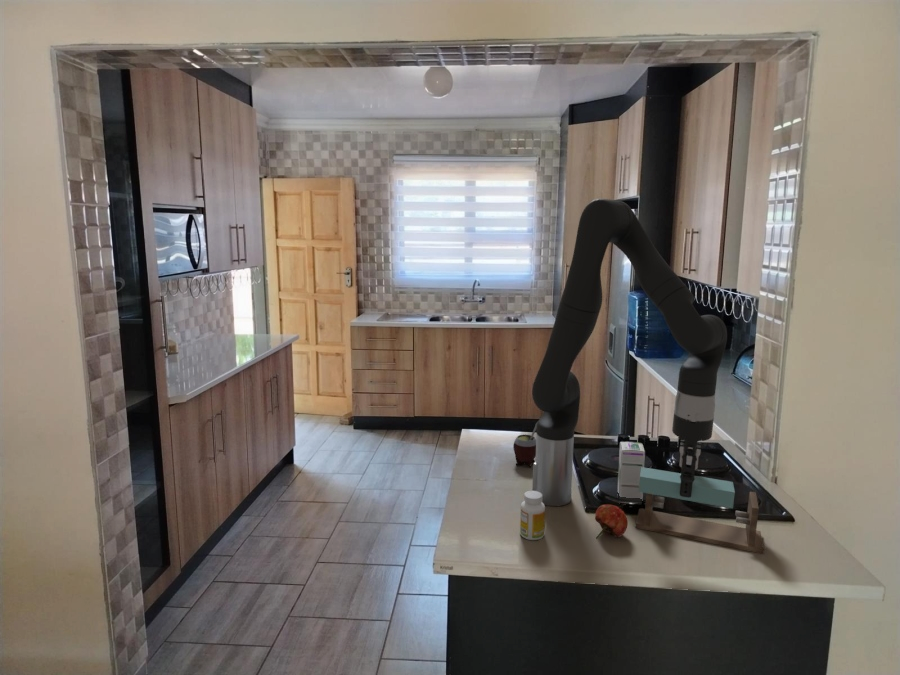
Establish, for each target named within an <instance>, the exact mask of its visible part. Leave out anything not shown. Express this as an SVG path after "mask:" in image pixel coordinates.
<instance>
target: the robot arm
mask: <svg viewBox="0 0 900 675" xmlns="http://www.w3.org/2000/svg"><path fill="white" fill-rule="evenodd" d="M576 232H577V233H576V237H575V244H574V249H573V254H572V259H571V263H570V266H569V270H568V273H567V277H566V281H565V286H564V288H563V292H562V294H561V297H560V300H559V305H558V308H557V311H556V316H555V321H554V324H553V326H552V330H551V333H550V337H549V339H548V340H549V341H548V343H547V347H546V350H545V353H544V356H543V359H542V361H541V363H540V367H539V369H538V371H537V372H536V373H537V374H536V376H535V379H534V381H533V383H532V390H531V394H532V401H533V403H534V404H535V406H536V407H537V408H538V409H539V410H540V411H542V412H543V413H542V415H541V416H540V418H539V419H538V421H537V422H538V423H537V422H536V423H537V428H536V435H535V436H536V437H535V439H536V456H535V462H534V463H532V464H533V465H532V486H531V489H532V490H531V491H538V492H540V493H541V494H542V503H543V504H544V505H546V506H550V507H551V506H552V507H561V506H565V505H567V504H569V503H570V502H571V499H572V484H573V466H574V465H573V463H574V461H573V460H574V441H575V440H574V439H575V438H574V437H575V430H576V427H577V424H578V420H579V411H580V401H581V400H580V399H581V387H580V386H581V385H580V383H579V379H578V377H577V376H576V375H575V374H574V373H573V372H572V371H571V370H572V367H573V365H574V363H575V360H576V358H578V355H579V354H580V352H581V351H582V350H583V348H584V347H585V345H586V344H587V342H588V340H589V339H590V337H591V335H592V334H593V332H594V329H595V328H596V324H597V320H598V318H599V315H600V312H601V308H602V304H603V287H602V286H603V285H602V279H601V276H602V275H601V270H602V265H603V261H604V258H605V256H606V255H605V254H606V252H607V249H608V245H609V244H610V243H612V244H613V245H614V246H615V247H616V248H618V249H619V250H620V251H621V252H622V253H623V254H624V255H625V257H627V259H628V260H629V262H630V263H631V266H632V268H633V270H634V273H635V276H636V277H637V280H638V283H639V285H640V286H641V289H642V290H643V292H644V293H645V295H646V296H647V297H648V298H649V300H650V301H651V302H652V304H653V305H654V306H655V307H656V309H658V311H659V312H660V313H661V314H662V316H663V319H664V321H665V323H666V325H667V327H668V329H669V331H670V333H671V334H672V335H671V336H672V337H673V338H674V340H675V341H676V343H677V344H678V345H679V346H680V347H681V348H682V349H683V350H684V351H686V352H688V356H687V359H686V360H685V361H684V362H683V363H682V364H681V366H680V367H679V373H678V378H677V379H678V383H677V390H676V391H677V392H676V395H675V399H674V407H673V408H674V409H673V418H672V419H673V420H672V428H671V431H672V433H673V435H674V436H676V437H678V438H681V439H680V441H679V442H680V444H679V454H680V455H679V456H680V457H679V464H678V466H679V467H680V468H681V472H680V473H681V475H680V478H681V485H680V496H683V497H688V498H689V497H691V493H692V484H693V482H694V480H695V477H694V476H695V472H696V470H698V468H699V466H698V465H699V457H700V455H701V451H702V448H701V446H702V443H700V442H701V441H702V442H704V441H709V440H710V439H711V438H712V435H713V429H714V420H715V411H716V388H717V380H718V378H717V377H718V371H719V368H720V366H721V363H722V360H723V356H724V353H725V350H726V346H727V341H728V330H727V326H726V324H725V322H724V320H722V318H720V317H719V316H716V315H715V314H704V315H700V313H698V311H697V310H696V307H695V306H694V305H693V304H694V301H695V298H694V294H693V293H692V291H691V290H690V289H689V287H688V286H687V285H686V284H685V283H684V281H682V280H681V278H680V277H679V276H678V274H677V273H676V272H675V271H674V270H673V269H672V267H671V266H670V265H669V264H668V263H667V262H666V260H665V259H664V258H663V257H662V255H661V254H660V252H659V251H658V250H657V248H656V247H655V245H654V244H653V242H652V240H651V239H650V237H649V236H648V235H647V232H646V231H645V229H644V227H643V226H642V224H641V222H640V221H639V219H638V217H637V216H636V214H635V212H634V211H633V209H632V208H631V206H630V205H628V204H627V203H626V202H625V201H621V200H619V199H610V198H609V199H608V198H595V199H593V200H591V201H590V202H588V204H586V206H585V207H584V209H583V211H582V212H581V215H580V218H579V221H578V226H577V231H576Z"/></svg>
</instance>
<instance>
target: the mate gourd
mask: <svg viewBox="0 0 900 675" xmlns="http://www.w3.org/2000/svg"><path fill="white" fill-rule="evenodd" d="M537 423H538V421H537V422H536V423H535V426H534V428H533V430H532V434H519V435H517V436H516V437H515V439H514V441H513V445H512V446H513V452H514V455H515V460H516V461H515V462H516V463H515V465H516V466H523V465H525V466H526V467H528V468H531V469H532V468H533V465H532V464H534V462H535V461H536V437H535V436H534V435H535V432H537Z"/></svg>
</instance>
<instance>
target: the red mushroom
mask: <svg viewBox="0 0 900 675" xmlns="http://www.w3.org/2000/svg"><path fill="white" fill-rule="evenodd" d="M624 506H625V504H621V505H620V506H617V505H613V504H610V503H609V504H601V505H600V506H598V508H597V509H596V511H595V515H594V520H595V521H596V523H598V524H599V526H600V527H601V530H600V533H598V534H597V536H596V537H595V539H598V538H599V537H600V536H601V535H602V534H603V533H604V531H605V532H607V533H608V534H611V535H612V536H613V537H616V538H619V537H622V536H623V535H624V534H625V533H626V531H627V529H628V525H629V524H628V523H629V522H628V516H627V515H626V514H625V512H624V510H623V508H624Z"/></svg>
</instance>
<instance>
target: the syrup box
mask: <svg viewBox="0 0 900 675" xmlns="http://www.w3.org/2000/svg"><path fill="white" fill-rule="evenodd" d="M618 453H619V454H618V472H617V473H618V475H617V492H618V493H619V496H620V497H626V498H640V499H642V500H643V498H644V497H643V496H644V493H643V492H639V483H640V474H641V467H644V468H645V459H646V458H645V456H646V450H645V448H644V445H643V443H642V442H636V441H620V442H619V452H618Z"/></svg>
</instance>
